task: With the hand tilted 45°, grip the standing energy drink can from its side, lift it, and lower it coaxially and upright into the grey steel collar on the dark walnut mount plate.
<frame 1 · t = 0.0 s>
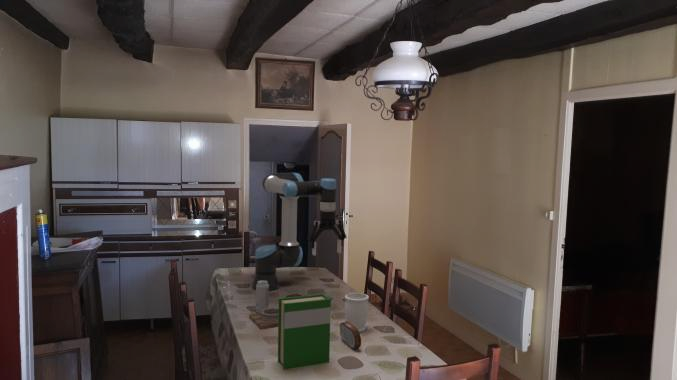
hand: (326, 253, 244), 28 cm above the table, tool pointing down, fingers open, 13 cm apart
tin: (349, 345, 204), on the table
mount: (271, 320, 229), on the table
jar: (355, 329, 221), on the table
hardback book: (303, 362, 186), on the table
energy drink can: (262, 312, 241), on the table
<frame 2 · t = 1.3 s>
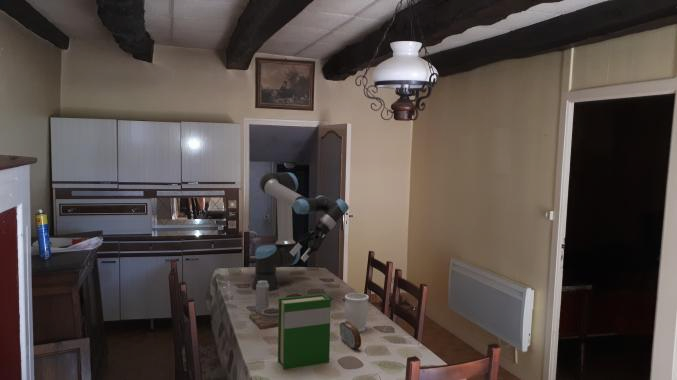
hand: (296, 257, 246), 26 cm above the table, tool tilted 45°, fingers open, 13 cm apart
nothing on the table moved.
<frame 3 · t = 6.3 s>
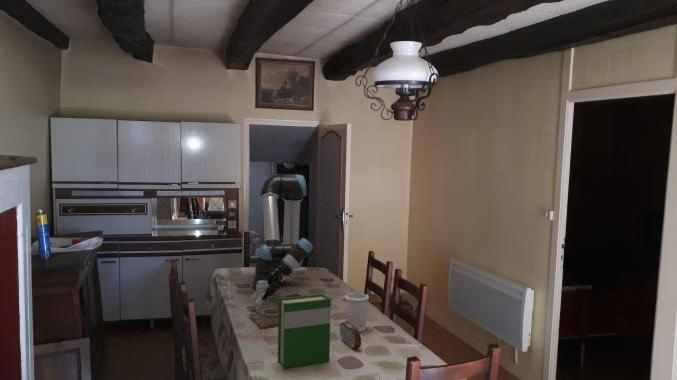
hand: (255, 302, 238), 5 cm above the table, tool tilted 45°, fingers closed on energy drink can, 6 cm apart
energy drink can: (262, 312, 240), on the table, touching gripper
everything else where it was.
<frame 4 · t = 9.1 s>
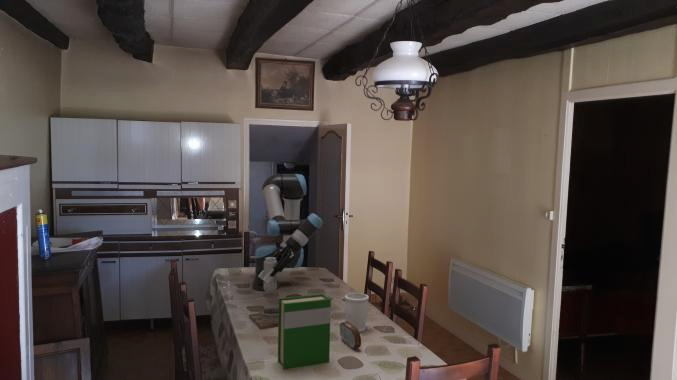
hand: (262, 279, 227), 19 cm above the table, tool tilted 45°, fingers closed on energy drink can, 6 cm apart
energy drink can: (270, 290, 230), point 14 cm above the table, touching gripper
everything else where it was.
when the fingers open (8 cm above the table, at t = 12.1 s): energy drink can drops 1 cm, resting on mount.
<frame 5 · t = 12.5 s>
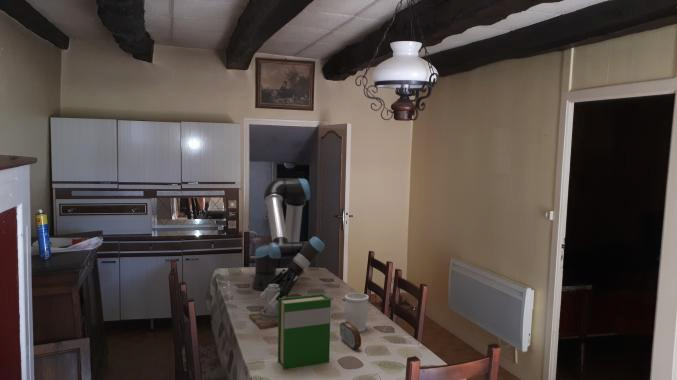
hand: (266, 301, 227), 9 cm above the table, tool tilted 45°, fingers open, 11 cm apart
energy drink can: (271, 317, 229), point 1 cm above the table, touching mount
everything else where it was.
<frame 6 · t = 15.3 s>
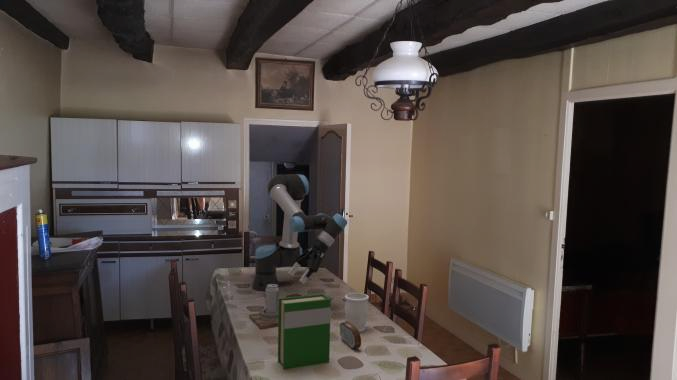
hand: (295, 278, 235), 18 cm above the table, tool tilted 40°, fingers open, 13 cm apart
nothing on the table moved.
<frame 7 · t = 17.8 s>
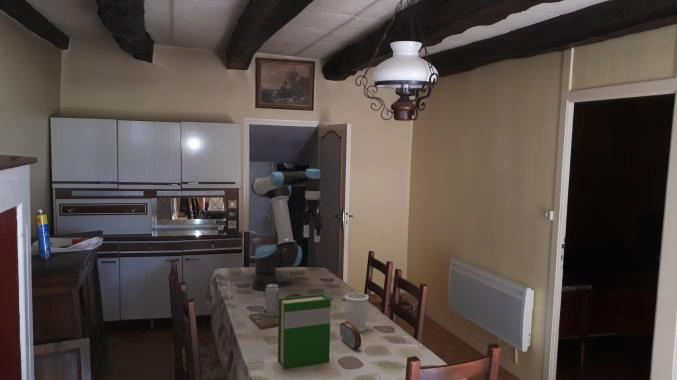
hand: (311, 239, 261), 32 cm above the table, tool pointing down, fingers open, 13 cm apart
nothing on the table moved.
at the end: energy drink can 0.1 cm off-centre on the mount, point 1.3 cm above the mount's base; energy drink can tilted 0°; the gripper is holding nothing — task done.
